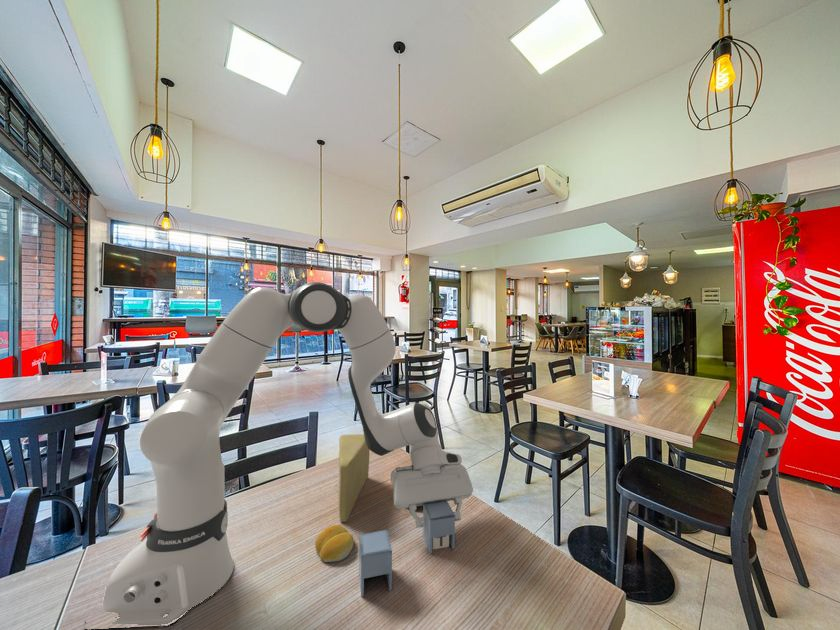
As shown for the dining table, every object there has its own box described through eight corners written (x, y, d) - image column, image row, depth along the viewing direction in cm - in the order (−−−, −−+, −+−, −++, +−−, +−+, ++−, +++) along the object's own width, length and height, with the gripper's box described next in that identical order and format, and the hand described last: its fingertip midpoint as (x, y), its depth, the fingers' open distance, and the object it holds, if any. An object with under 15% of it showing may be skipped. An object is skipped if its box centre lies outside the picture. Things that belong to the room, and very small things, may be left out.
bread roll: (326, 570, 66) (326, 552, 66) (310, 546, 73) (310, 529, 73) (360, 551, 72) (361, 534, 72) (343, 530, 79) (343, 514, 79)
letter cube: (432, 550, 72) (433, 532, 72) (428, 537, 76) (428, 521, 76) (449, 547, 73) (449, 529, 73) (443, 534, 77) (443, 518, 77)
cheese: (361, 522, 81) (362, 466, 81) (323, 524, 81) (324, 467, 80) (369, 477, 103) (369, 432, 103) (339, 478, 103) (339, 433, 102)
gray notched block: (361, 596, 60) (361, 556, 60) (359, 571, 66) (359, 534, 66) (391, 590, 62) (391, 550, 62) (387, 565, 67) (387, 529, 67)
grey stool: (429, 553, 71) (430, 519, 71) (423, 535, 77) (423, 503, 77) (454, 548, 72) (454, 514, 72) (445, 530, 78) (446, 499, 78)
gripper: (391, 463, 79) (398, 528, 69) (466, 454, 84) (482, 513, 74) (388, 472, 83) (394, 534, 74) (459, 463, 88) (474, 520, 79)
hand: (439, 523), depth 74 cm, fingers open, 8 cm apart
